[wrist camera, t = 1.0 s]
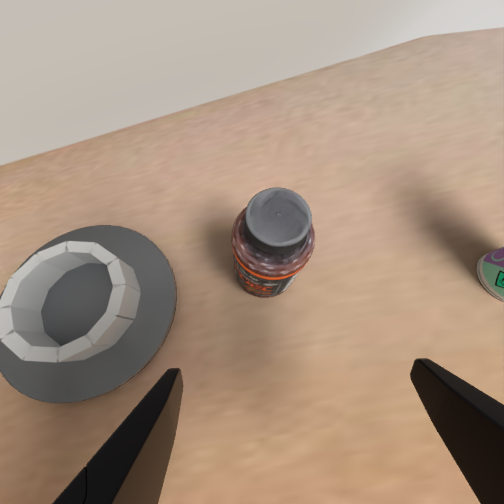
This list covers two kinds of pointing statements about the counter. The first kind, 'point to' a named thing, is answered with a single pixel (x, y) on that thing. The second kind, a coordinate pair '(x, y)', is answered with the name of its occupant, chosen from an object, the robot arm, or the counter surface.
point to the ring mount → (85, 314)
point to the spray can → (492, 272)
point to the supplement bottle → (272, 241)
